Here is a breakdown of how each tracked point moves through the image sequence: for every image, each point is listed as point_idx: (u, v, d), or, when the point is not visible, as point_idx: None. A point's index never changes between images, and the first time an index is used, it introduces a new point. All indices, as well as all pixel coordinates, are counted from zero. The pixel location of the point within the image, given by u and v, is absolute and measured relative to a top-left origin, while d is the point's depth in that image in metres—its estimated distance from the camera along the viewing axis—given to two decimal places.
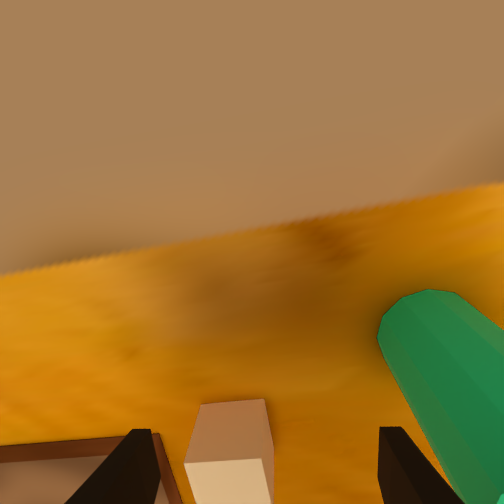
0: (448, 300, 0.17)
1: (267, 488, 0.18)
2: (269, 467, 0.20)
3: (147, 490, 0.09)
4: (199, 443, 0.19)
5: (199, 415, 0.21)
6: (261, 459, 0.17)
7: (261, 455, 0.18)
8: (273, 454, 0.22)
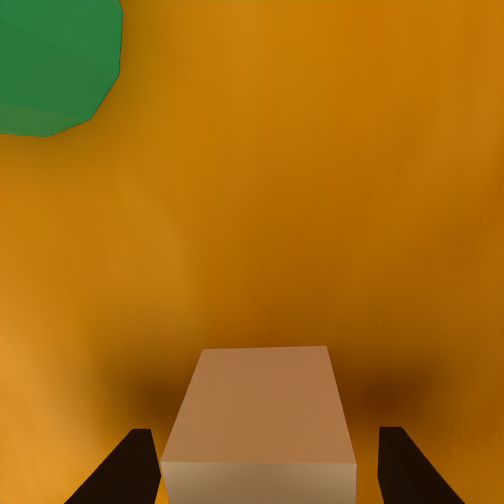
0: None
1: (261, 461, 0.07)
2: (275, 408, 0.09)
3: (147, 490, 0.09)
4: None
5: None
6: (169, 458, 0.07)
7: (169, 451, 0.08)
8: (322, 358, 0.10)
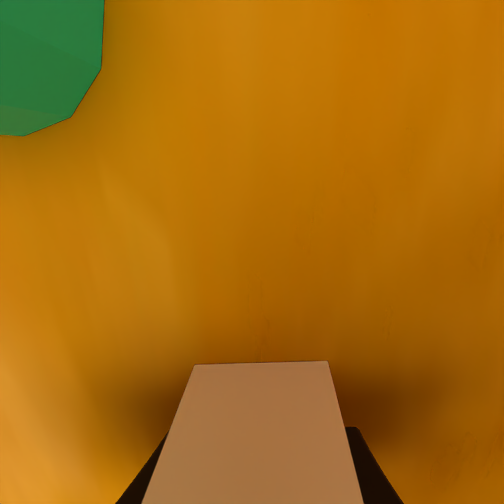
0: None
1: None
2: (272, 437, 0.08)
3: None
4: None
5: None
6: (151, 500, 0.07)
7: (153, 490, 0.07)
8: (323, 376, 0.10)
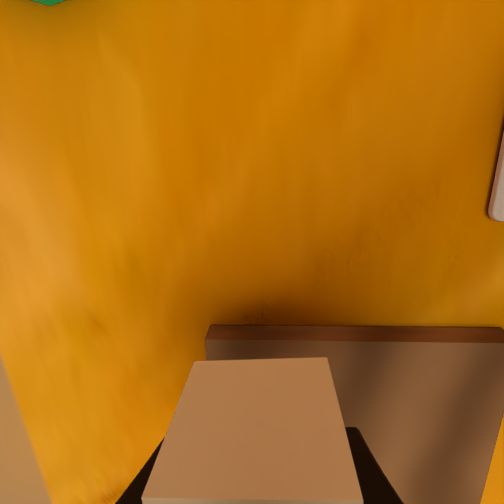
0: None
1: (255, 497, 0.06)
2: (271, 432, 0.08)
3: None
4: None
5: None
6: (151, 494, 0.07)
7: (152, 484, 0.07)
8: (322, 373, 0.10)
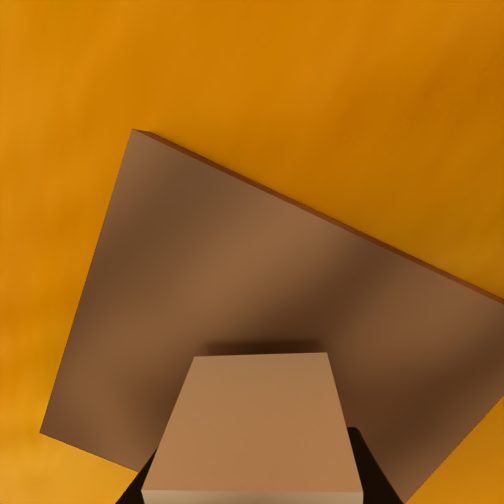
0: None
1: (255, 489, 0.06)
2: (271, 426, 0.08)
3: None
4: None
5: None
6: (151, 486, 0.07)
7: (153, 477, 0.07)
8: (322, 367, 0.10)
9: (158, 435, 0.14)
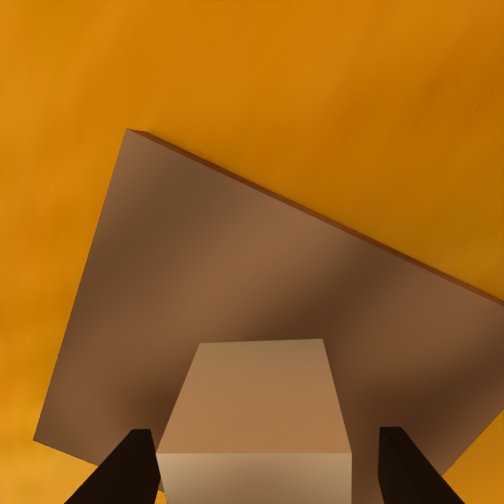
0: None
1: (256, 452, 0.07)
2: (271, 401, 0.09)
3: (147, 490, 0.09)
4: None
5: None
6: (164, 450, 0.07)
7: (165, 443, 0.08)
8: (318, 352, 0.10)
9: (155, 443, 0.13)
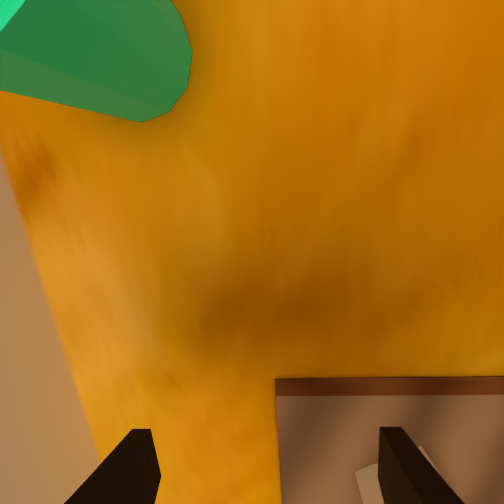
0: None
1: None
2: None
3: (147, 490, 0.09)
4: None
5: None
6: None
7: None
8: None
9: None
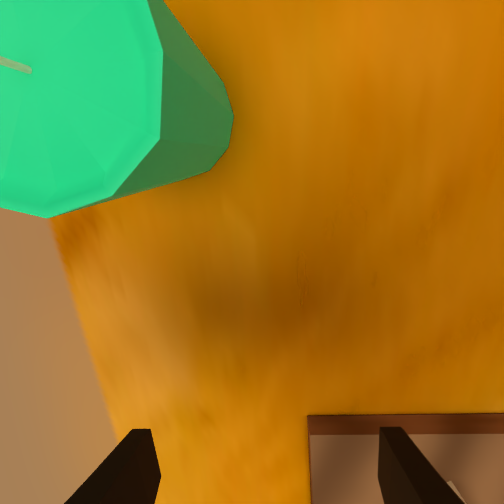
0: None
1: None
2: None
3: (147, 490, 0.09)
4: None
5: None
6: None
7: None
8: None
9: None
